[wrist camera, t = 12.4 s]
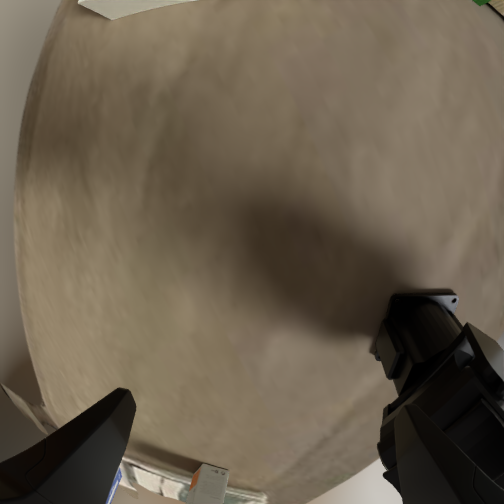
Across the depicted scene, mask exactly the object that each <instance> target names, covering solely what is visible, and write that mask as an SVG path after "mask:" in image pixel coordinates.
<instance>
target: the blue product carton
mask: <svg viewBox="0 0 504 504" xmlns="http://www.w3.org/2000/svg"><path fill="white" fill-rule="evenodd" d="M121 477H122V475H121V471H120V467H119V468H118V471H117V473H116V476H115V479H114V482H113V484H112V487H111V490H110V493H109V496H108V498H107V501H106V504H111V501H112V499H113V497H114V494H115V492H116V489H117V487H118V484H119V482H120V480H121Z"/></svg>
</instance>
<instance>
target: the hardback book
mask: <svg viewBox="0 0 504 504" xmlns="http://www.w3.org/2000/svg"><path fill="white" fill-rule="evenodd" d="M473 1H474V2H475V3H476V4H478V5H479V6H481V5H483V4H485V3H487V2H488V3H489V4H490V5H492V6H493V7H494V8H495V9H496V10H497V11H498V12H500V13H501V14H502V15H503V16H504V0H473Z"/></svg>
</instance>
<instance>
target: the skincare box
mask: <svg viewBox="0 0 504 504" xmlns="http://www.w3.org/2000/svg"><path fill="white" fill-rule="evenodd" d="M228 476H229V471H228V470H225V469H221V468H217V467H214V466H211V465H207V464H202V465H201V466H200V468H199V469H198V470H197V471H196V472H195V473H194V474H193V478H192V482H191V486H190V489H189V493H188V497H187V500H186V504H223V502H224V497H225V492H226V487H227V481H228Z"/></svg>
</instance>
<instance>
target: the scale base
mask: <svg viewBox="0 0 504 504" xmlns="http://www.w3.org/2000/svg"><path fill="white" fill-rule="evenodd" d="M190 1H197V0H78V4H80V5H82V6H84V7H86V8H88V9H91V10H93V11H95V12H97V13H99V14H101V15H103V16H105V17H107V18H109V19H111V20H115V19H118V18H121V17H124V16H128V15H131V14H135V13H138V12H142V11H146V10H150V9H155V8H159V7H163V6H168V5H173V4H179V3H184V2H190Z"/></svg>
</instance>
